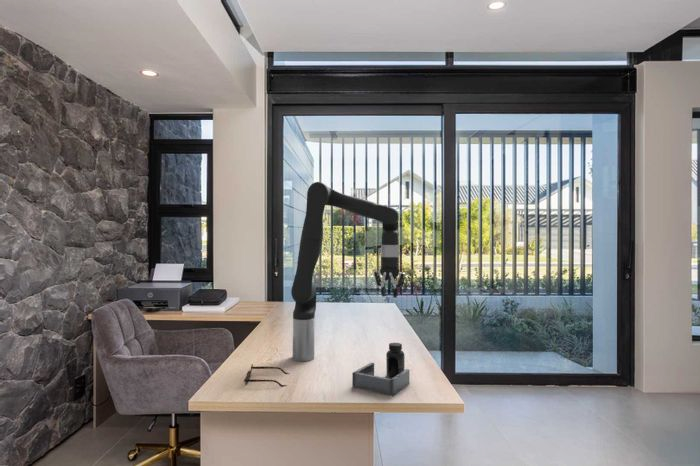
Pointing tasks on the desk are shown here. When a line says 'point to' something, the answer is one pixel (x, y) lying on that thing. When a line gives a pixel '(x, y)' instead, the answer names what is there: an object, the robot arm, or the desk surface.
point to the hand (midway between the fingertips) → (389, 296)
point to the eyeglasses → (262, 380)
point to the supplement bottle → (395, 360)
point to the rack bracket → (379, 381)
